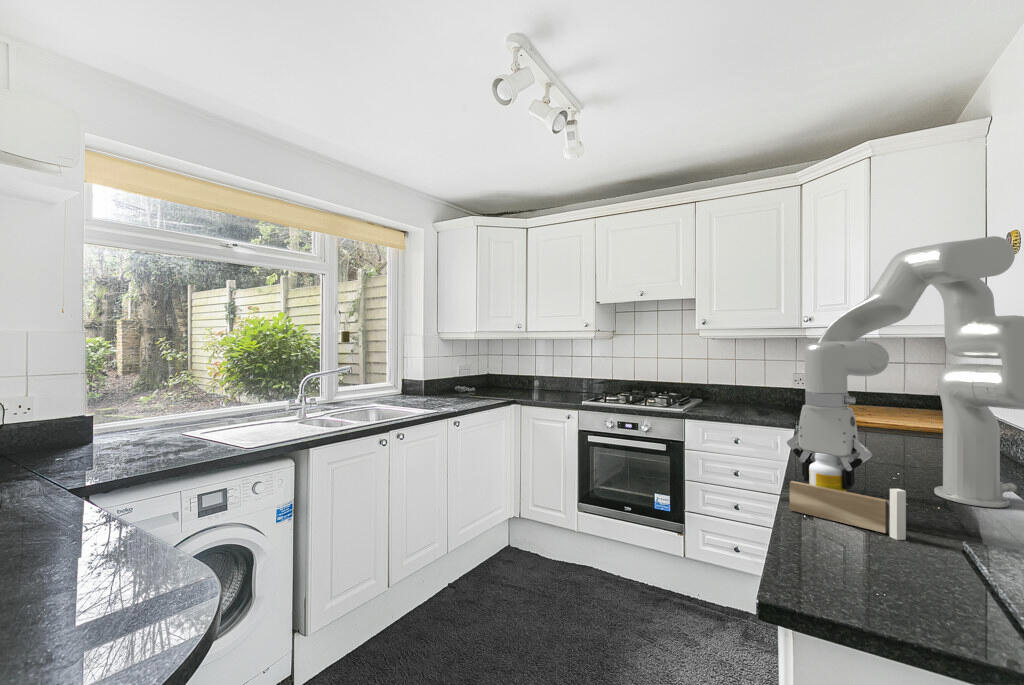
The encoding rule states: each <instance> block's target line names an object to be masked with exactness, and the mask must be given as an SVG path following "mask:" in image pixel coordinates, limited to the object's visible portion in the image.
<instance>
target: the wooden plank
mask: <svg viewBox="0 0 1024 685" xmlns="http://www.w3.org/2000/svg"><path fill="white" fill-rule="evenodd" d="M789 511H793V512H796V513H800V514H804V515H808V516H814V517H818V518H821V519H825V520H830V521H833V522H837V523H838V522H839V523H843V524H847V525H850V526H855V527H858V528H862V529H867V530H871V531H875V532H879V533H883V534H887V535H890V499H889V500H888V499H884V498H879V497H874V496H869V495H864V494H860V493H855V492H849V491H847V492H845V491H840V490H835V489H830V488H825V487H820V486H815V485H810V484H809V483H805V482H799V481H794V480H791V481H789Z"/></svg>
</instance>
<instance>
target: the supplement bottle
mask: <svg viewBox="0 0 1024 685" xmlns="http://www.w3.org/2000/svg"><path fill="white" fill-rule="evenodd" d="M813 457H814V461H813V463H811V464H810V466H809V481H808V482H809V483H808V484H810V485H815V486H820V487H825V488H830V489H835V490H840V491H845V492H848V491H847V490H848V489H847V490H845V489H843V488H842V470H844V465H843V464H842V465H841V463H840V462H841V459H840V457H839V456H833V455H828V454H822V453H817V452H815V453H814V454H813Z"/></svg>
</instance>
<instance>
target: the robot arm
mask: <svg viewBox="0 0 1024 685" xmlns="http://www.w3.org/2000/svg"><path fill="white" fill-rule="evenodd" d="M1015 252H1016V251H1015V249H1014V245H1013V244H1012V243H1011V242H1010V241H1009V240H1007V239H1006V238H1004V237H1001V236H996V235H992V236H985V237H979V238H973V239H972V238H971V239H966V240H965V239H964V240H963V239H962V240H957V241H956V240H955V241H948V242H941V243H935V244H930V245H924V246H919V247H914V248H909V249H905V250H902V251H900V252H899V253H897V254H895V255H894V256H893V257H892V258H891V259H890V261H889V263H888V264H887V266H886V267H885V269H884V270H883V272H882V274H881V275H880V277H879V279H878V280H877V281H876V283H875V285H874V286H873V288H872V289H871V290H870V292H869V293H868V295H867V296H866V298H865V299H864V300H862V301H861V302H859V303H857V304H856V305H854V306H853V307H851V308H850V309H849V310H847V311H845V313H843V314H841V315H840V316H838V317H837V318H836V319H835V320H833V321H832V322H831V323H830V324H829V326H828V327H826V329H825V330H824V332H823V333H822V335H821V337H820V338H819V340H818V342H813V343H809V344H807V345H806V346H805V349H804V385H805V386H804V388H805V390H804V391H805V392H804V393H805V394H804V395H805V397H804V398H805V404H803V405H802V407H801V411H800V416H799V422H798V433H796V434H795V435H794V436H792V437H791V438H789V439H788V440H786V444H787V446H788V447H789V448H790V449H791V450H792V452H793V453H794V454H795V456H796V457H797V458H798V459H799V462H800V463H801V475H802V477H803V480H804V482H809V466H810V464H811V463H813V462H814V461H813V460H812V458H813V457H814V453H815V452H817V453H822V454H828V455H833V456H839V457H840V462H841V463H842V466H843V467H844V470H842V488H843V489H845V490H849V489H851V488H853V486H854V485H855V481H856V480H855V479H856V478H855V469H857V468H859V467H860V466H861V465H863V464H865V462H867V461H868V460H869V459H871V457H873V453H872V452H871V451H870V450H869V449H868V448H867V447H865V446H864V445H863V444H862V443H861V442H860V441H859V434H858V427H857V420H856V416H855V412H854V410H853V408H852V407H849V406H850V405H852V404H853V405H855V404H856V401H857V400H856V397H855V396H854V397H853V396H850V393H848V392H849V391H848V376H853V377H856V376H857V377H873V376H876V375H879V374H881V373H882V372H884V371H885V370H886V369H887V367H888V366H889V363H890V356H889V353H888V351H887V350H886V348H885V347H884V346H883V345H881V344H879V343H877V342H873V341H867V340H866V341H865V340H859V339H861V338H862V337H863V336H866V335H867V334H870V333H872V332H874V331H877V330H881V329H883V328H886V327H889V326H891V325H894V324H896V323H899V322H901V321H903V320H905V319H906V318H908V317H909V316H910V315H911V313H912V311H913V310H914V308H915V306H916V305H917V303H918V301H919V300H920V298H921V297H922V295H923V294H924V292H925V291H926V289H927V287H929V286H933V287H934V288H935V289H936V290H937V291H938V293H939V294H940V296H941V299H942V303H943V316H944V318H943V322H944V324H943V325H944V342H945V347H946V350H947V351H948V352H949V354H950V355H953V356H955V357H959V358H970V359H971V358H973V359H992V360H994V359H998V360H1001V364H990V363H989V364H988V363H956V364H951V365H948V366H947V367H944V368H943V369H942V370H941V371H940V373H939V374H938V376H937V388H938V394H939V397H940V401H941V407H942V408H941V409H942V419H943V420H942V422H943V423H942V428H943V430H942V457H943V458H942V485H939V486H936V487H934V490H933V491H934V494H935V495H936V496H938V497H941V499H945V500H949V501H951V502H952V501H953V502H955V503H960V504H964V505H970V506H976V507H984V508H994V509H995V508H998V509H999V508H1000V509H1001V508H1007V507H1009V506H1010V499H1009V498H1007V497H1005V496H1004V493H1005V492H1006V493H1014V492H1016V491H1017V489H1018V488H1017V487H1018V486H1016V485H1015V483H1013V482H1007V483H1005V482H1002V481H1001V480H1000V478H1001V476H1000V474H1001V472H1000V470H1001V468H1000V467H1001V465H1000V464H1001V462H1000V461H1001V457H1000V456H1001V455H1000V454H1001V453H1000V451H1001V445H1000V443H1001V429H1000V428H1001V426H1000V424H999V421H998V419H997V417H996V416H995V414H994V413H993V412H992V410H991V409H990V408H1000V409H1007V410H1008V409H1009V410H1018V411H1019V410H1020V411H1021V410H1022V411H1024V316H1023V315H996V310H995V298H994V293H993V291H992V290H991V288H990V287H989V285H988V284H987V283H986V282H985V281H983V280H982V279H983V278H990V277H997V276H1000V275H1002V274H1004V273H1005V272H1007V271H1008V270H1009V269H1010V268H1011V267H1012V265H1013V263H1014V261H1015V257H1016V253H1015ZM858 453H859V456H858V457H857V458H854V457H853V456H852V455H856V454H858Z"/></svg>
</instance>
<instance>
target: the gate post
mask: <svg viewBox="0 0 1024 685" xmlns="http://www.w3.org/2000/svg"><path fill="white" fill-rule="evenodd" d="M889 500H890V534H889V538H892V539H893V540H895V541H903V540H904V541H905V540H906V541H907V534H906V533H907V531H906V530H907V506H906V505H907V491H906V490H905V489H900V488H889Z"/></svg>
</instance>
